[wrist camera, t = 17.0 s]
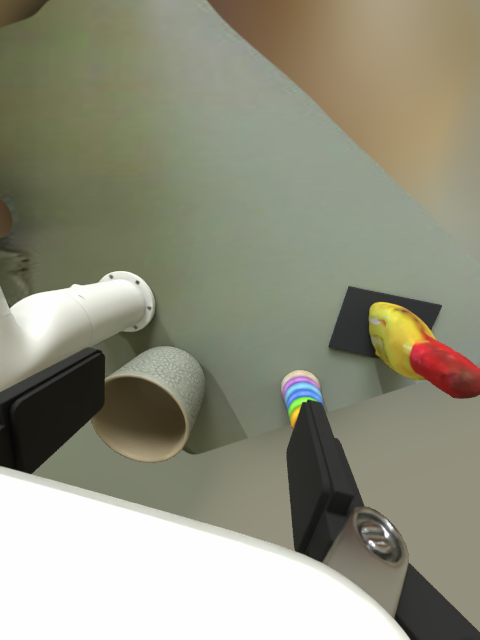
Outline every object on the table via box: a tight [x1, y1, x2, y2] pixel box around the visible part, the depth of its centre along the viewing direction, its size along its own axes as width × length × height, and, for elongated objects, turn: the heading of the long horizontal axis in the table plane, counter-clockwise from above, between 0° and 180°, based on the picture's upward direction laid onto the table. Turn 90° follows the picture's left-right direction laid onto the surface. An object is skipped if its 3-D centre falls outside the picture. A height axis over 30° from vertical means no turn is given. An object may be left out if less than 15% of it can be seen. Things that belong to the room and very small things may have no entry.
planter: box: [90, 346, 206, 463], centre depth 43 cm, size 17×17×15 cm
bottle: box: [369, 302, 480, 399], centre depth 32 cm, size 12×6×20 cm, turn 21°
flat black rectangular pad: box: [329, 286, 442, 358], centre depth 42 cm, size 16×12×1 cm
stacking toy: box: [281, 370, 324, 429], centre depth 39 cm, size 8×8×19 cm
